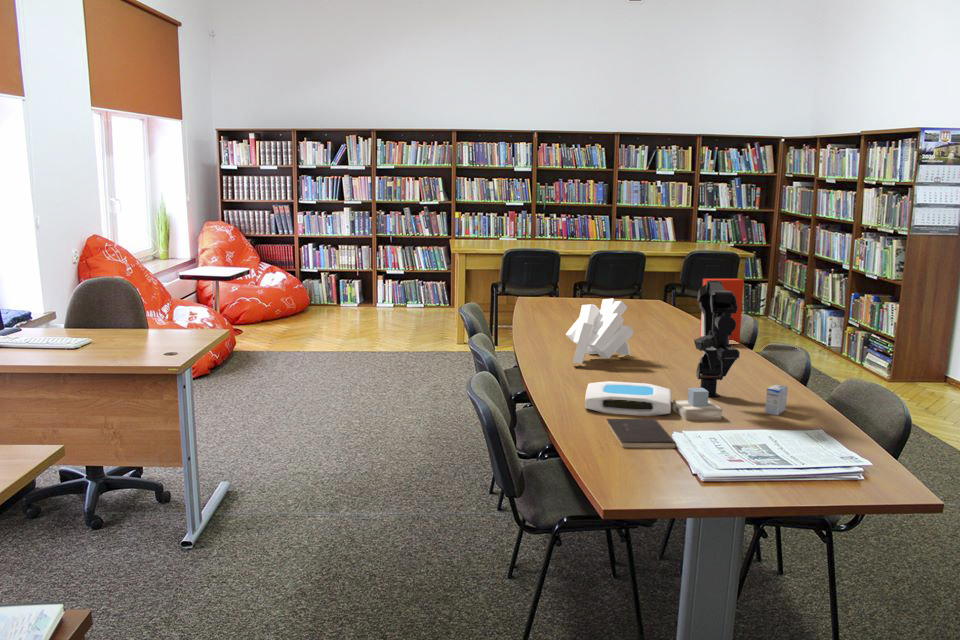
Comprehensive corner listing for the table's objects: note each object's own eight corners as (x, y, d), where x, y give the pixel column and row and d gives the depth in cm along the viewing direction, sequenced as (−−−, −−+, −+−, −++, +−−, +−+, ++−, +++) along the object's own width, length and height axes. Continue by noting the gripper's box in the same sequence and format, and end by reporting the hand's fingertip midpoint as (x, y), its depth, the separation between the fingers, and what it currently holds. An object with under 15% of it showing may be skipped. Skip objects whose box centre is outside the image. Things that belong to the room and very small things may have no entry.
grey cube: (687, 402, 254) (688, 387, 254) (702, 402, 255) (703, 387, 254) (692, 406, 250) (693, 391, 249) (707, 406, 250) (708, 391, 249)
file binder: (699, 342, 379) (702, 278, 374) (732, 341, 380) (736, 278, 375) (705, 345, 371) (709, 280, 366) (739, 345, 372) (743, 280, 367)
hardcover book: (621, 449, 219) (621, 441, 218) (606, 425, 241) (606, 418, 241) (676, 449, 219) (676, 441, 219) (656, 425, 242) (656, 418, 241)
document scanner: (670, 418, 249) (671, 399, 248) (584, 412, 255) (584, 394, 254) (668, 401, 269) (669, 384, 268) (589, 396, 275) (589, 379, 274)
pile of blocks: (620, 385, 313) (656, 309, 315) (554, 353, 317) (590, 278, 319) (614, 387, 347) (646, 319, 349) (555, 359, 352) (587, 291, 354)
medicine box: (772, 408, 261) (774, 383, 260) (785, 410, 258) (787, 386, 257) (764, 413, 255) (766, 388, 254) (778, 415, 252) (780, 390, 251)
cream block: (672, 411, 258) (673, 400, 257) (706, 410, 259) (707, 399, 258) (685, 421, 246) (686, 409, 245) (721, 421, 247) (722, 409, 247)
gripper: (687, 324, 265) (684, 367, 268) (709, 333, 247) (706, 380, 250) (717, 323, 267) (715, 367, 269) (741, 333, 248) (738, 379, 251)
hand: (717, 373), depth 260 cm, fingers open, 9 cm apart
